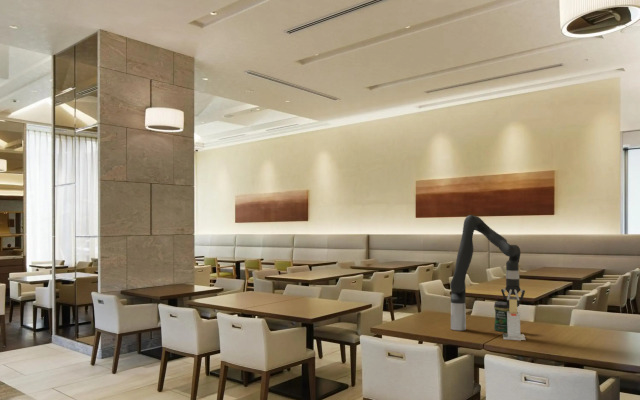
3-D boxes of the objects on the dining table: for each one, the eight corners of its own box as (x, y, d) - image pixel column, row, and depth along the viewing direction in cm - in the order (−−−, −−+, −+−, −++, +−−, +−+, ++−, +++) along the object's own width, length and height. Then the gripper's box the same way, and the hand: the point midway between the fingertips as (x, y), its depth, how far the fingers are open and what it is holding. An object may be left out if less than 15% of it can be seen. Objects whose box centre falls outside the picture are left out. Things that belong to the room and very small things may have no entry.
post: (510, 333, 286) (509, 297, 287) (509, 331, 290) (509, 297, 291) (517, 333, 284) (517, 298, 286) (517, 332, 288) (516, 297, 290)
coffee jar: (492, 330, 307) (492, 301, 308) (497, 329, 313) (496, 300, 314) (508, 333, 301) (507, 303, 302) (512, 331, 307) (511, 301, 308)
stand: (503, 339, 283) (502, 313, 284) (503, 335, 295) (502, 310, 296) (525, 340, 279) (524, 314, 280) (524, 336, 291) (523, 311, 292)
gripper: (500, 278, 288) (500, 306, 287) (525, 278, 283) (526, 308, 282) (499, 276, 295) (500, 305, 294) (524, 277, 290) (525, 306, 289)
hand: (513, 306), depth 288 cm, fingers closed on post, 4 cm apart
